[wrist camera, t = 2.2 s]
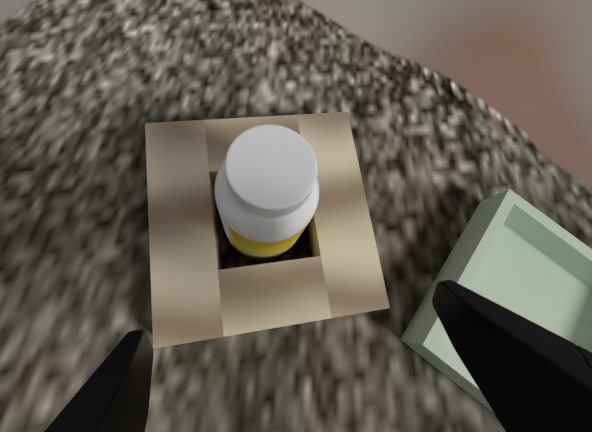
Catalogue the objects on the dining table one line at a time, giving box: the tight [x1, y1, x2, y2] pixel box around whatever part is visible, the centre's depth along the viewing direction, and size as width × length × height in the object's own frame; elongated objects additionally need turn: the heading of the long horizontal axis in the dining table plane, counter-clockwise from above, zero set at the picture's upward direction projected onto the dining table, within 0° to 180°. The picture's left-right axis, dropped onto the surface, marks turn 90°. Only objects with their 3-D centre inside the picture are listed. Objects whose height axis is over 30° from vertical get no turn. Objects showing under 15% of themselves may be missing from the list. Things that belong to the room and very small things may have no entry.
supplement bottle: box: [214, 124, 319, 260], centre depth 18 cm, size 5×5×10 cm
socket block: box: [145, 112, 390, 349], centre depth 21 cm, size 14×14×2 cm
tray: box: [400, 189, 592, 414], centre depth 22 cm, size 13×13×3 cm
